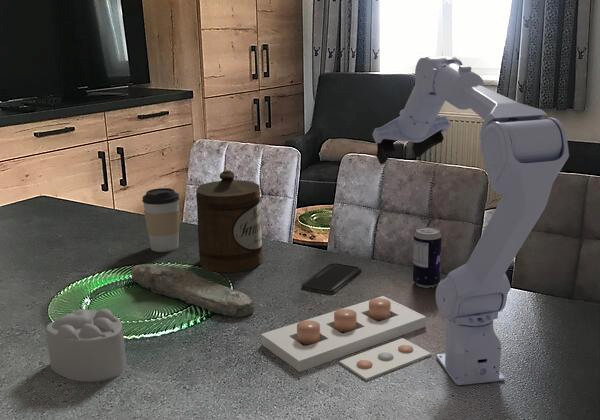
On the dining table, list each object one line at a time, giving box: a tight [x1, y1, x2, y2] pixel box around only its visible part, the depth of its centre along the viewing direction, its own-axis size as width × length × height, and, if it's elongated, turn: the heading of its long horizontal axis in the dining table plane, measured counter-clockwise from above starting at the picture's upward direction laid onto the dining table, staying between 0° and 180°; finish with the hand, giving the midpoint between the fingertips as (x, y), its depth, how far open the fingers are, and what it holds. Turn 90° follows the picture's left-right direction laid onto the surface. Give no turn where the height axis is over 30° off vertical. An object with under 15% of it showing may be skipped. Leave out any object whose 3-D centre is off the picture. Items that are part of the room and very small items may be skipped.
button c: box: [297, 319, 320, 345], centre depth 118 cm, size 4×4×2 cm
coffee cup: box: [141, 187, 180, 253], centre depth 170 cm, size 9×9×15 cm
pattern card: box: [338, 337, 432, 382], centre depth 114 cm, size 14×7×1 cm, turn 124°
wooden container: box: [195, 170, 263, 273], centre depth 158 cm, size 15×15×22 cm
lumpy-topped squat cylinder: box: [45, 308, 127, 382], centre depth 114 cm, size 10×13×9 cm
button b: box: [334, 308, 357, 332], centre depth 122 cm, size 4×4×2 cm
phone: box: [301, 262, 362, 295], centre depth 149 cm, size 8×1×15 cm
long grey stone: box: [130, 263, 255, 318], centre depth 142 cm, size 35×5×10 cm
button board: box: [260, 295, 427, 373], centre depth 123 cm, size 28×12×2 cm, turn 124°
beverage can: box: [412, 226, 442, 289], centre depth 143 cm, size 6×6×12 cm
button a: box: [369, 297, 391, 321], centre depth 126 cm, size 4×4×2 cm
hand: (398, 156), depth 129 cm, fingers open, 7 cm apart
